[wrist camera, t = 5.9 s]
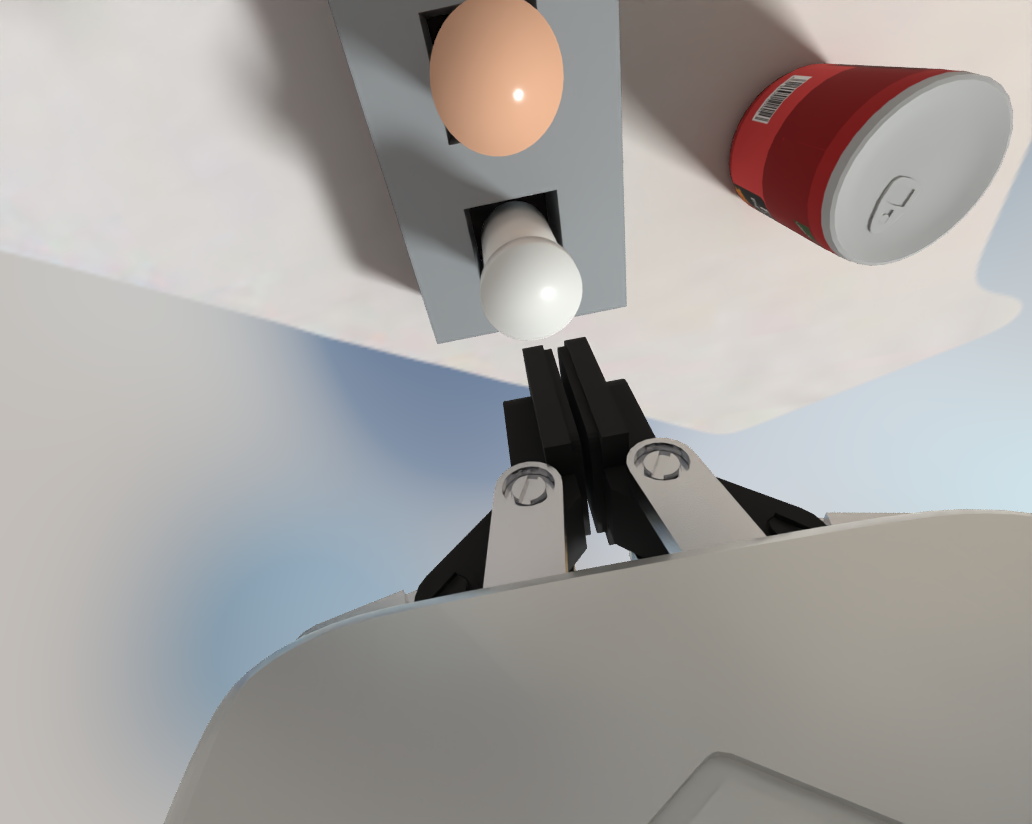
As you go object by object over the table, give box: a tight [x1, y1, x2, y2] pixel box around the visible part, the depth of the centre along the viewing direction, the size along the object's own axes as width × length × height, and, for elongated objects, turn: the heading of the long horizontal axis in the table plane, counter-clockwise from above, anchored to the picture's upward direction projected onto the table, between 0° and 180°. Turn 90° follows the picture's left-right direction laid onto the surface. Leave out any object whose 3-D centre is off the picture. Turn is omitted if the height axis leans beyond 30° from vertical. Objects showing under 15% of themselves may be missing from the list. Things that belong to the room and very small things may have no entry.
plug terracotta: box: [430, 0, 564, 156], centre depth 19 cm, size 5×5×8 cm
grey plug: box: [480, 201, 583, 341], centre depth 24 cm, size 5×5×8 cm
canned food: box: [729, 64, 1013, 266], centre depth 26 cm, size 8×8×11 cm
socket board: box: [328, 0, 627, 344], centre depth 24 cm, size 26×12×6 cm, turn 10°
